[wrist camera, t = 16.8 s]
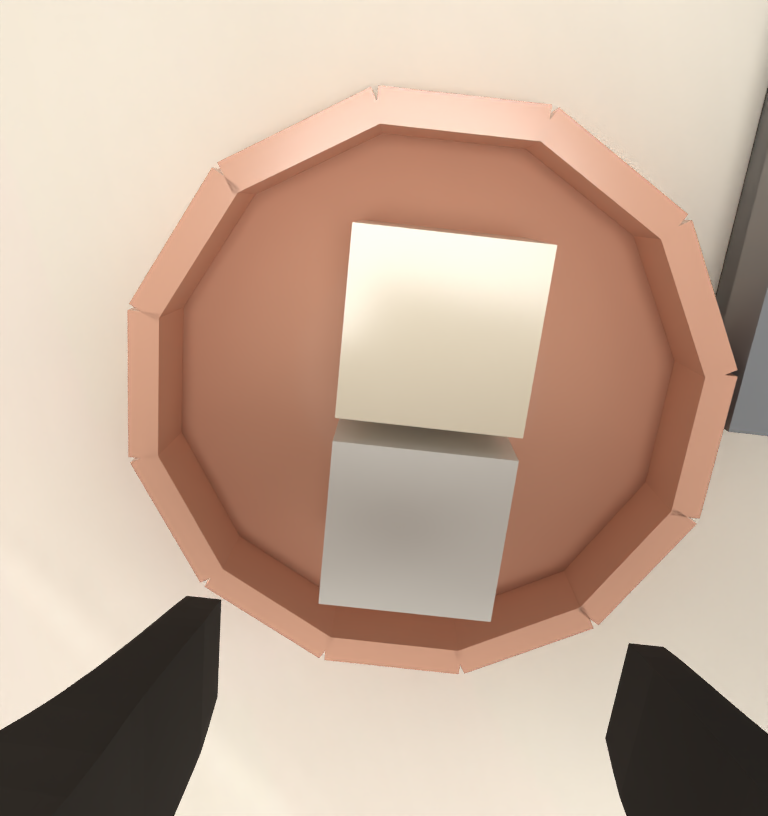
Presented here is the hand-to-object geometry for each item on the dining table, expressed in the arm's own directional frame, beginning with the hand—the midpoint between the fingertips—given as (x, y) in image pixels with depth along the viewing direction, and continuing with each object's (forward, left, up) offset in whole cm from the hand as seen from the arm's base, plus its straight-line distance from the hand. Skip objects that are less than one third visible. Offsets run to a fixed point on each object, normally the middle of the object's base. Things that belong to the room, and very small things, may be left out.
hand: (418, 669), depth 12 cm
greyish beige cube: (0, 0, -9) cm, 9 cm away
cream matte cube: (0, -5, -9) cm, 10 cm away
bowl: (0, -2, -9) cm, 10 cm away
